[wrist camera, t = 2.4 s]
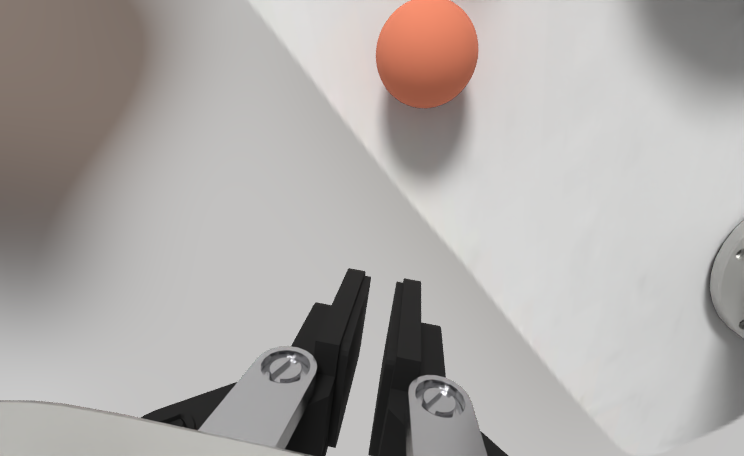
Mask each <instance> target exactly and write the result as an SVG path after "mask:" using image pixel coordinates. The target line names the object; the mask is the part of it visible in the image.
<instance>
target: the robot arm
mask: <svg viewBox="0 0 744 456" xmlns="http://www.w3.org/2000/svg"><path fill="white" fill-rule="evenodd" d="M370 281H371V277H368V276H365V271H361V270H355V269H350V268H349V269H348V271H347V273H346V275H345V277H344V279H343V282H342V284H341V286H340V288H339V290H338V293H337V295H336V297H335V299H334V301H333V303H332V305H326V304H322V303H315V304H314V305H313V307H312V309H311V311H310V313H309V315H308V316H307V318H306V320H305V322H304V324H303V326H302V327H301V329H300V331H299V333H298V335H297V336H296V338H295V340H294V342H293V344H292V346H283V347H277V348H272V349H270V350H268V351H266V352H264V353H263V354H261V355H260V356H259V357H258V358H257V359H256V360H255V362H254V363H253V364H252V365H251V366H250V368H249V369H248V370H247V371H246V372H245V374H244V375H243V376H242V377H241V379H240V380H239V381H238V382H236V383H233V384H230V385H227V386H224V387H221V388H218V389H216V390H213V391H210V392H207V393H204V394H201V395H198V396H195V397H192V398H190V399H187V400H184V401H181V402H178V403H175V404H172V405H169V406H167V407H164V408H161V409H158V410H155V411H153V412H151V413H149V414H146V415H144V416H143V417H141V418H138V417H133V416H129V415H124V414H119V413H114V412H108V411H102V410H96V409H91V408H85V407H80V406H74V405H69V404H62V403H53V402H43V401H10V400H9V401H8V400H5V401H4V400H2V401H1V400H0V456H325V455H326V452H327V448H328V446H330V447H334V448H335V447H336V444H337V440H338V436H339V433H340V428H341V424H342V421H343V416H344V413H345V409H346V405H347V401H348V397H349V393H350V389H351V385H352V381H353V377H354V373H355V369H356V365H357V361H358V357H359V352H360V346H361V339H362V333H363V326H364V320H365V314H366V307H367V300H368V294H369V288H370ZM710 292H711V297H712V302H713V305H714V307H715V309H716V311H717V313H718V315H719V317H720V318H721V319H722V320H723V322H724V323H725V324H726V325H727V326H728V327H729V328H730V329H732V330H733V331H734V332H736V333H737V334H738V335H739V336H741V337H742V338H744V220H743V221H742V222H741V223H740V224H739V225H738V226H737V227H736V228H735V229H734V230H733V232H732V233H731V234H730V235H729V237H728V238H727V239H726V241H725V242H724V243H723V245H722V247H721V249H720V251H719V253H718V255H717V257H716V258H715V262H714V265H713V269H712V272H711V280H710ZM369 455H371V456H508V455H507V454H506V453H505V452H503V451H502V450H501V449H500V448H499V447H498V446H497V445H495V444H494V443H493V442H492V441H491V440H490V439H489V438H488V437H487V436H485V435H484V434H483V433H482V432H481V431H480V429H479V425H478V422H477V418H476V415H475V411H474V408H473V405H472V401H471V400H470V397H469V395H468V394H467V393H466V391H465V390H464V389H463V388H462V387H461V386H459V385H458V384H456V383H455V382H454V381H451V380H449V379H447V378H446V376H445V366H444V355H443V344H442V333H441V327H440V326H436V325H431V324H426V323H421V282H420V281H415V280H410V279H404V281H403V283H401V282H397V283H396V288H395V294H394V300H393V305H392V311H391V316H390V322H389V327H388V333H387V339H386V344H385V350H384V356H383V362H382V368H381V375H380V382H379V388H378V394H377V401H376V408H375V414H374V422H373V427H372V434H371V441H370V448H369Z"/></svg>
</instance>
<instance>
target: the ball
mask: <svg viewBox="0 0 744 456" xmlns="http://www.w3.org/2000/svg"><path fill="white" fill-rule="evenodd" d="M477 59H478V40H477V35H476V31H475V28H474V26H473V24H472V22H471V20H470V18H469V17H468V15H467V14H466V13H465V12H464V11H463V10H462V9H461V8H460V7H459V6H458V5H456V4H455V3H453V2H451V1H449V0H411V1H409V2H407V3H405V4H403V5H402V6H400V7H399V8H398V9H397V10H396V11H395V12H394V13H393V14H392V15H391V16H390V17H389V19H388V20H387V21H386V23H385V25H384V26H383V28H382V30H381V33H380V35H379V38H378V42H377V48H376V63H377V69H378V73H379V75H380V78H381V80H382V82H383V84H384V86H385V87H386V89H387V90H388V91H389V93H390V94H391V95H392V96H393V97H395V98H396V99H397V100H399V101H400V102H402V103H404V104H406V105H409V106H412V107H416V108H432V107H436V106H440V105H442V104H445V103H447V102H448V101H450V100H452V99H453V98H454V97H456V96H457V95H458V94H459V93H460V92H461V91H462V90H463V89H464V88H465V86H466V85H467V83H468V82H469V80H470V79H471V77H472V75H473V73H474V70H475V67H476V63H477Z"/></svg>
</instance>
